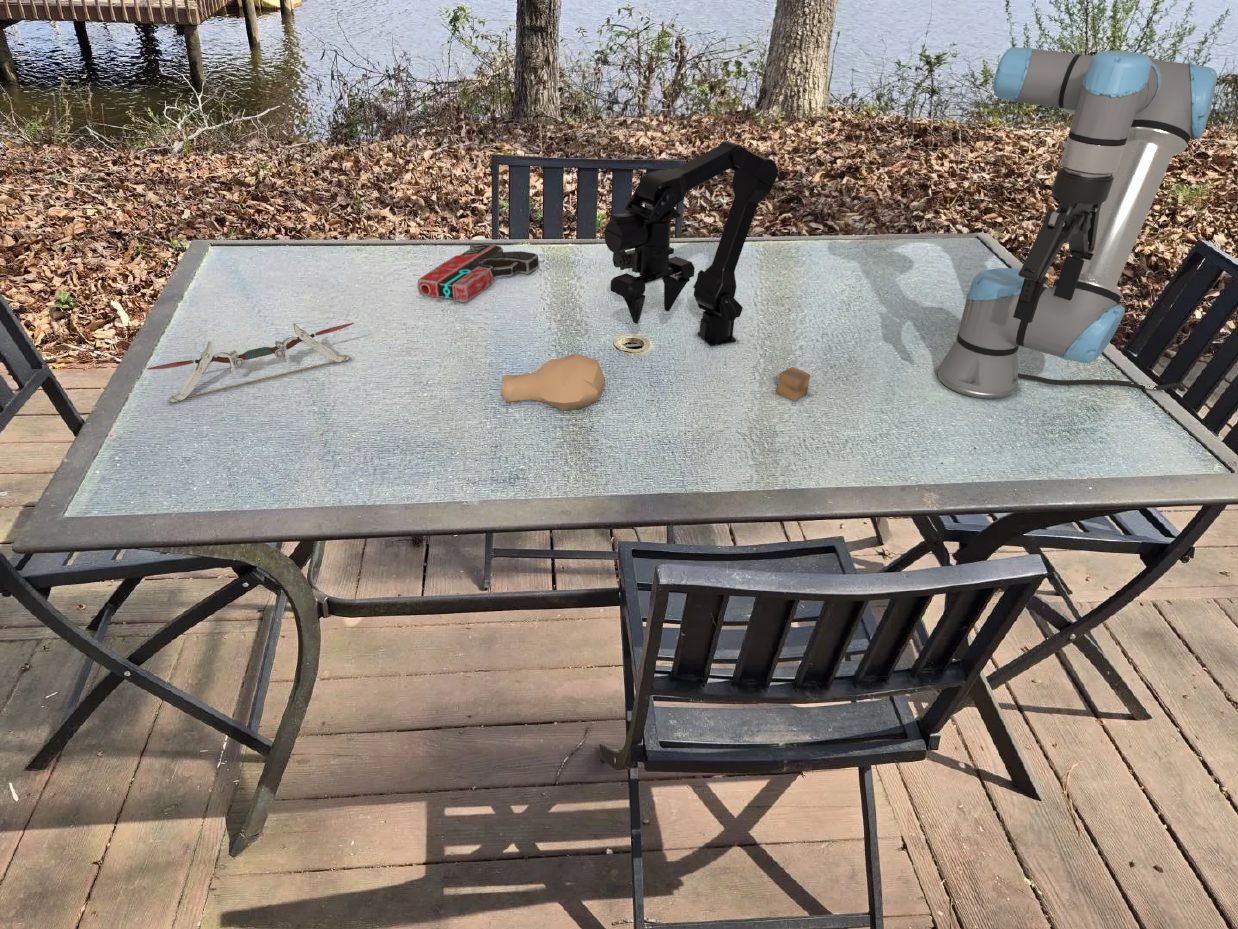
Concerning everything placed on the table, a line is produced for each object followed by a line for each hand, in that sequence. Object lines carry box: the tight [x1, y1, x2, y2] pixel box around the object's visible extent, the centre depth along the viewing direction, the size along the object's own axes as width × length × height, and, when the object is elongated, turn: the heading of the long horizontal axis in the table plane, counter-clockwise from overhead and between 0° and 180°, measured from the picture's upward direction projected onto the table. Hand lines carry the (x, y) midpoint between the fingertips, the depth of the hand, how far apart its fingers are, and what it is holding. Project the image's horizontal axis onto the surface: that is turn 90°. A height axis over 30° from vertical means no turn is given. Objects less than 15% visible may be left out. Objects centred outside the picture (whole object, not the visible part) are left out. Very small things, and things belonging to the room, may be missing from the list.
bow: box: [146, 322, 355, 403], centre depth 169 cm, size 39×2×10 cm, turn 124°
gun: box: [416, 243, 540, 303], centre depth 216 cm, size 4×31×19 cm
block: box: [776, 366, 811, 402], centre depth 172 cm, size 4×4×4 cm
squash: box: [500, 353, 606, 411], centre depth 166 cm, size 11×20×9 cm, turn 90°
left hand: (651, 316), depth 179 cm, fingers open, 9 cm apart
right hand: (1042, 308), depth 138 cm, fingers open, 13 cm apart
